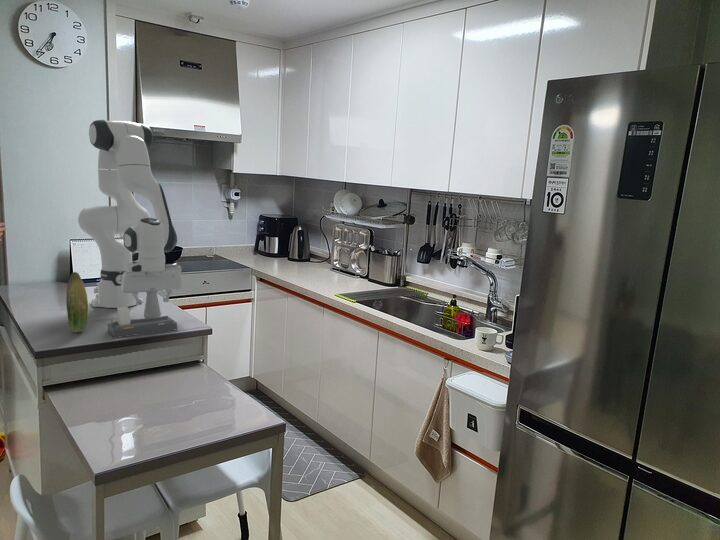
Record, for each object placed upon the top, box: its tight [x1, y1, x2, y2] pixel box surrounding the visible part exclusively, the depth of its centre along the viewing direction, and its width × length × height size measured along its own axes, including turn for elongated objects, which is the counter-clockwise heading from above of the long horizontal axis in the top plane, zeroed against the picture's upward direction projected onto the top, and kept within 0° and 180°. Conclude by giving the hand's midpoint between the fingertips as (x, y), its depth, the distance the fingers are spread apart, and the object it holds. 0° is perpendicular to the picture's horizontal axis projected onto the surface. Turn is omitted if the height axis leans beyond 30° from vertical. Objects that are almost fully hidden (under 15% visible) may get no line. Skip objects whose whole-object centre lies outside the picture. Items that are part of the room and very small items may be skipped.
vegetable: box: [65, 271, 89, 334], centre depth 173 cm, size 6×6×20 cm
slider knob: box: [117, 307, 131, 325], centre depth 176 cm, size 4×3×5 cm
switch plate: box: [107, 315, 178, 338], centre depth 180 cm, size 9×20×3 cm, turn 126°
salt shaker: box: [143, 288, 162, 318], centre depth 191 cm, size 6×6×13 cm
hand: (152, 303), depth 191 cm, fingers open, 8 cm apart
